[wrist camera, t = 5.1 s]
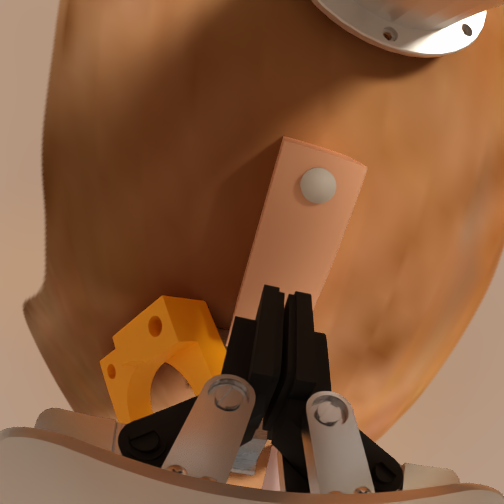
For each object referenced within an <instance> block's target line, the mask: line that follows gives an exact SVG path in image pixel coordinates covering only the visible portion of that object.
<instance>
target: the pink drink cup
mask: <svg viewBox="0 0 504 504" xmlns="http://www.w3.org/2000/svg"><path fill="white" fill-rule="evenodd" d="M277 451H278V450H277V449H276V448H275V447H274V446H272V447H271V452H270V456H269V461H268V465H267V469H266V474H265V478H264V482H263V486H262V489H264V490H273V491H280V484H279V473H278V463H277Z"/></svg>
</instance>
